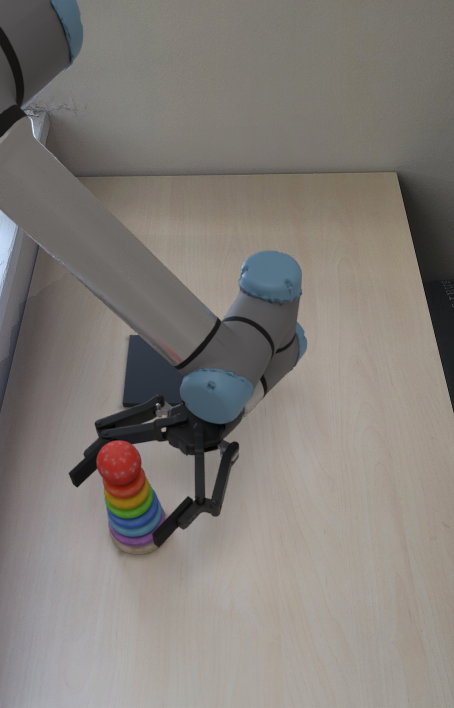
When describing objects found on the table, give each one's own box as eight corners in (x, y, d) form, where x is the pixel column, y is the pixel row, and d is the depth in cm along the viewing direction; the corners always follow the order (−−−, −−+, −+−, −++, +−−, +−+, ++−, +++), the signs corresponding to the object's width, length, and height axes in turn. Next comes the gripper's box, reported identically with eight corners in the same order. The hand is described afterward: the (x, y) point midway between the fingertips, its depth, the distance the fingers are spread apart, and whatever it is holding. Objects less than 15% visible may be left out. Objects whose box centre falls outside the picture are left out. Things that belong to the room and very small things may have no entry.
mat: (123, 407, 97) (122, 403, 96) (130, 339, 104) (129, 334, 103) (202, 407, 97) (201, 403, 96) (204, 339, 104) (203, 334, 103)
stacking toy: (165, 500, 89) (151, 418, 73) (172, 551, 85) (159, 476, 69) (108, 509, 88) (81, 427, 72) (113, 560, 84) (85, 487, 68)
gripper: (296, 464, 85) (194, 581, 76) (154, 375, 92) (48, 472, 84) (302, 430, 78) (191, 554, 70) (149, 337, 86) (32, 439, 77)
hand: (112, 510), depth 77 cm, fingers open, 13 cm apart
